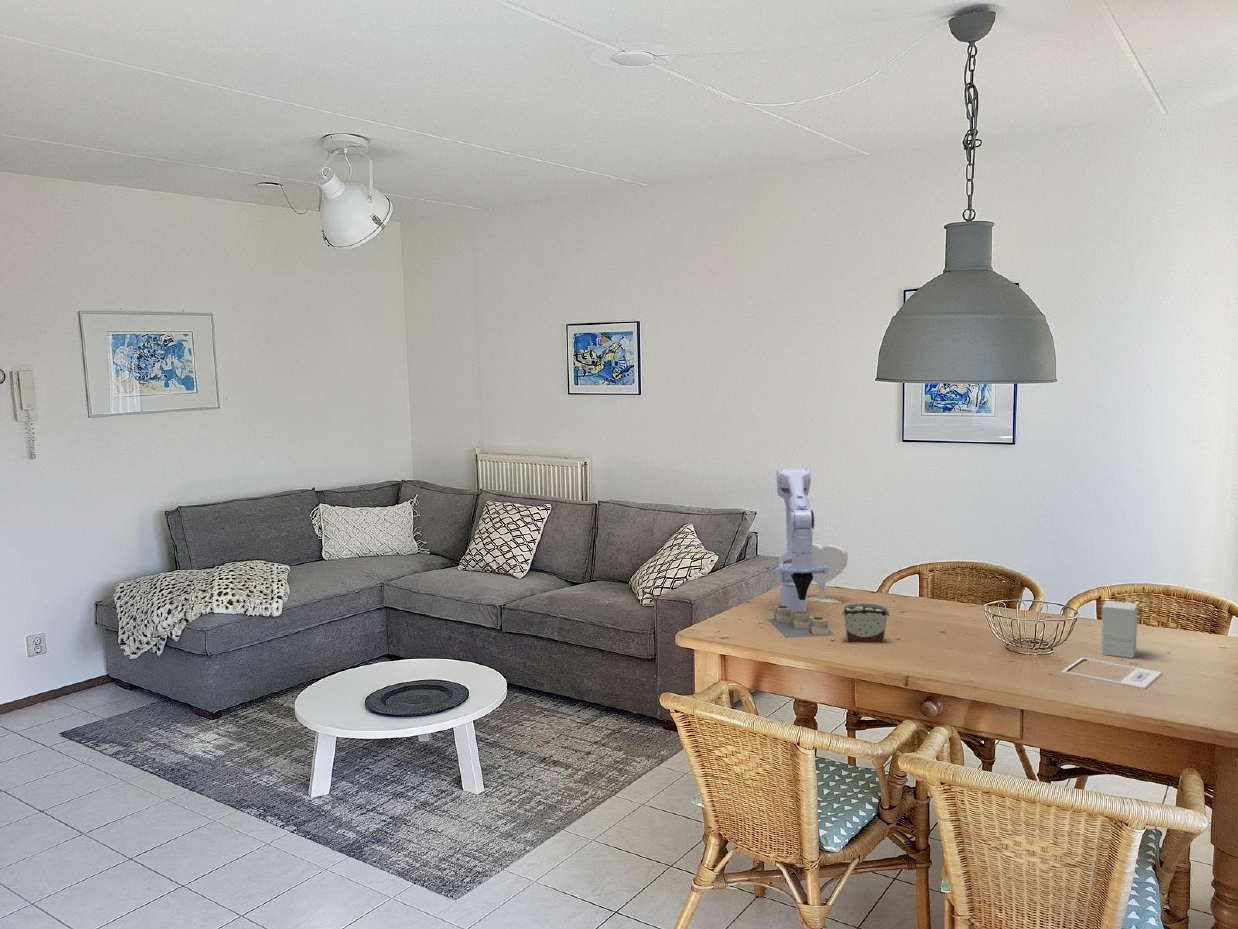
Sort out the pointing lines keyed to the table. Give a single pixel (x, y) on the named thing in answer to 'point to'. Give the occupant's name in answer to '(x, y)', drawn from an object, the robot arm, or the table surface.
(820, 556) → the heart sculpture
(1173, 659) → the table surface
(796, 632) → the tapping mat
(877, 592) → the table surface
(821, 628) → the dotted block
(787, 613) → the dotted block
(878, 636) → the food container
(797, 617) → the plain block
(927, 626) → the table surface
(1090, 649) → the table surface
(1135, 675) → the photo frame
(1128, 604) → the supplement box
